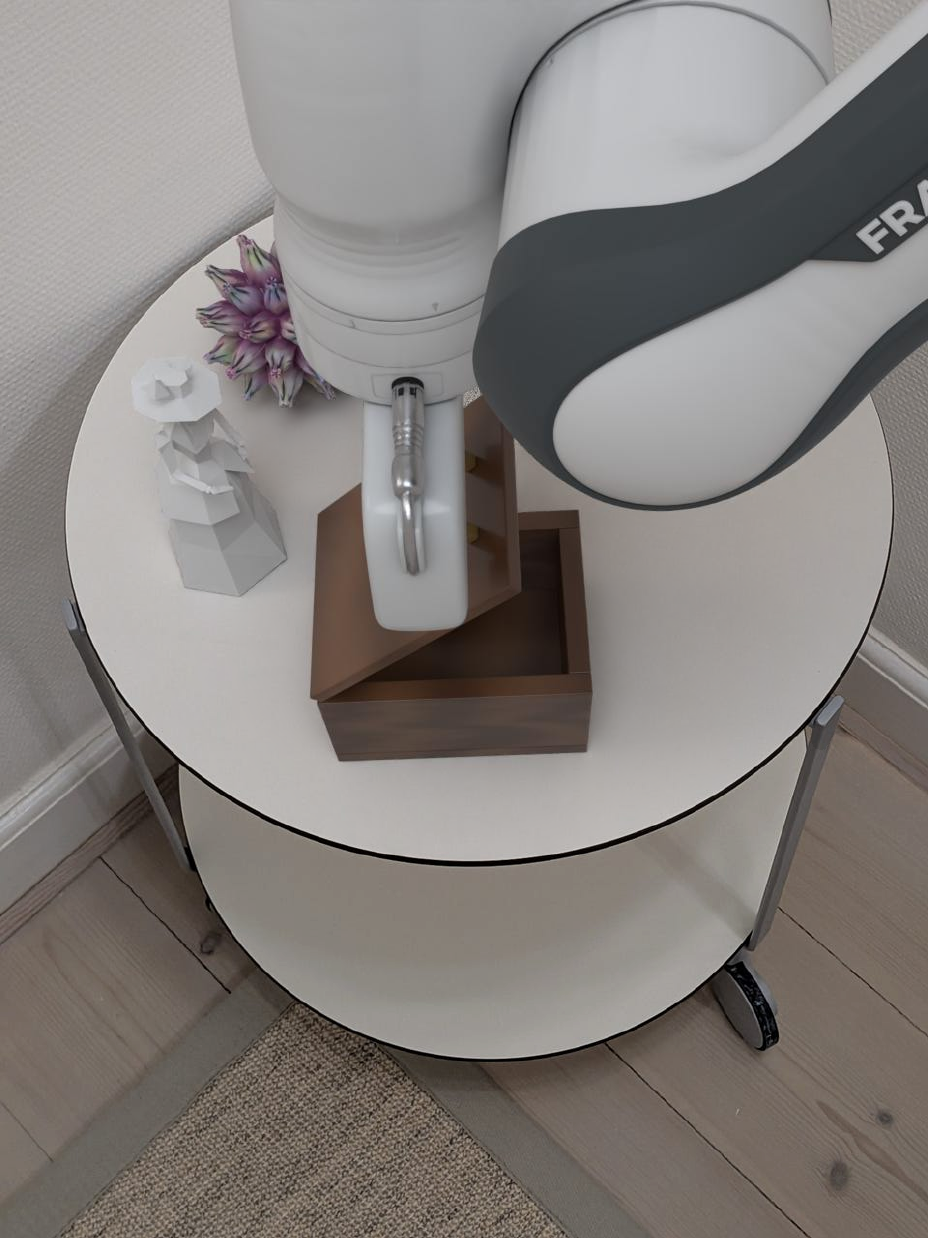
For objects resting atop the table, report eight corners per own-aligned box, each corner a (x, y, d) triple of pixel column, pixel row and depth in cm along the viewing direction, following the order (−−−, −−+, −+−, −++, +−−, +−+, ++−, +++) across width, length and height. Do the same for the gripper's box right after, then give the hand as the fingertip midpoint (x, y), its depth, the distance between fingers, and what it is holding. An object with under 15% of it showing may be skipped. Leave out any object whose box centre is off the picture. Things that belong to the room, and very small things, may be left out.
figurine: (274, 601, 77) (208, 426, 61) (151, 584, 78) (55, 407, 62) (301, 507, 80) (245, 318, 65) (183, 492, 81) (99, 302, 66)
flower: (391, 336, 89) (376, 449, 81) (224, 331, 89) (194, 444, 81) (383, 190, 80) (366, 301, 72) (198, 185, 80) (162, 296, 73)
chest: (574, 581, 77) (578, 508, 70) (586, 752, 72) (592, 693, 64) (343, 591, 77) (323, 520, 70) (338, 762, 72) (316, 704, 65)
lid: (512, 386, 60) (433, 342, 57) (522, 592, 55) (435, 555, 52) (328, 518, 70) (252, 486, 67) (321, 703, 65) (239, 677, 62)
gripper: (502, 519, 41) (503, 694, 53) (485, 93, 50) (489, 324, 63) (310, 526, 41) (356, 699, 53) (329, 99, 50) (364, 329, 63)
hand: (428, 493), depth 58 cm, fingers closed on lid, 5 cm apart
